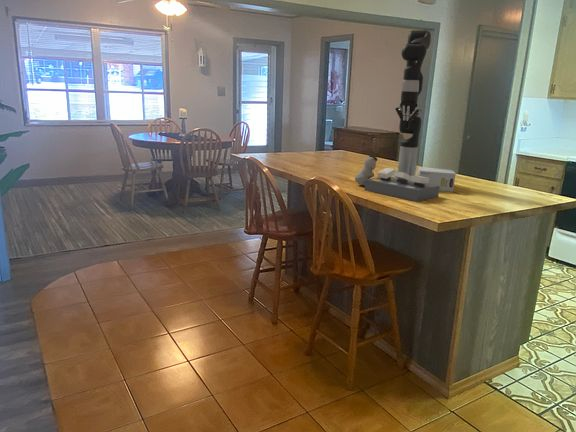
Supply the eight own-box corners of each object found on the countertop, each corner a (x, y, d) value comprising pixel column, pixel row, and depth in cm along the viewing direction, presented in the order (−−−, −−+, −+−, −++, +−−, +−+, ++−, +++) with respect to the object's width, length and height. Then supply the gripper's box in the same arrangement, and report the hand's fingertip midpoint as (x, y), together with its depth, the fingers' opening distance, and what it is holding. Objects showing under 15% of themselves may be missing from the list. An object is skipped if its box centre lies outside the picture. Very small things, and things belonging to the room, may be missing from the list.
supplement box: (417, 189, 223) (419, 170, 220) (415, 184, 235) (417, 166, 233) (453, 192, 220) (456, 172, 217) (449, 187, 232) (452, 168, 230)
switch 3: (418, 181, 208) (419, 175, 207) (428, 183, 204) (429, 177, 204) (410, 180, 203) (411, 175, 202) (420, 182, 199) (421, 177, 199)
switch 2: (401, 179, 214) (402, 174, 214) (410, 181, 210) (411, 176, 210) (393, 175, 209) (394, 170, 209) (402, 177, 205) (404, 172, 205)
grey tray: (387, 185, 227) (388, 173, 226) (438, 196, 208) (440, 182, 206) (364, 190, 215) (365, 176, 214) (416, 201, 196) (418, 187, 194)
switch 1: (386, 172, 220) (386, 167, 219) (395, 174, 217) (395, 169, 215) (377, 177, 216) (377, 172, 215) (386, 178, 212) (386, 173, 211)
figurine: (374, 187, 221) (377, 157, 217) (353, 186, 223) (356, 155, 219) (375, 184, 229) (377, 154, 225) (354, 183, 231) (357, 153, 227)
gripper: (427, 91, 207) (423, 129, 212) (402, 90, 216) (398, 127, 221) (418, 91, 202) (414, 130, 207) (393, 90, 211) (389, 127, 216)
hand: (406, 128), depth 214 cm, fingers closed
